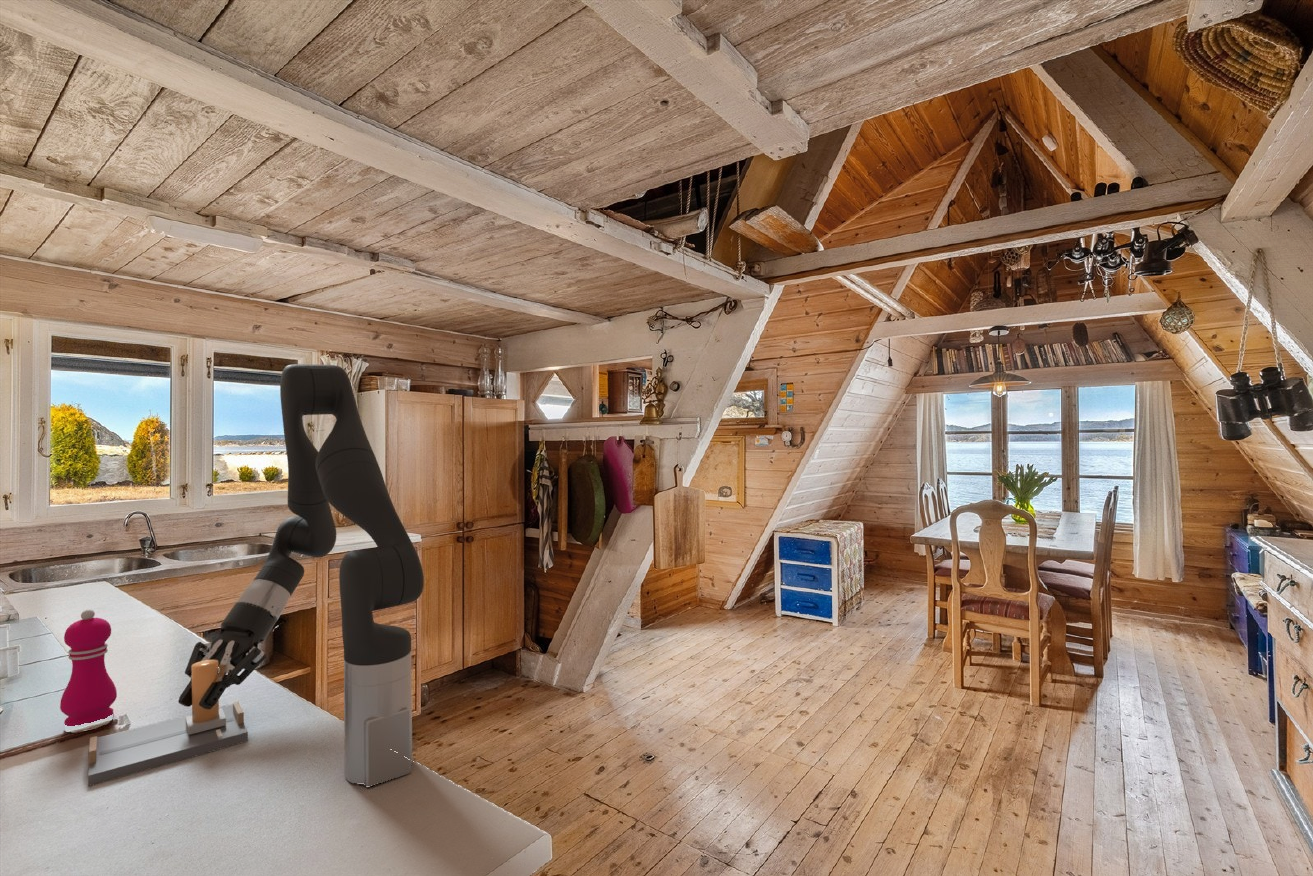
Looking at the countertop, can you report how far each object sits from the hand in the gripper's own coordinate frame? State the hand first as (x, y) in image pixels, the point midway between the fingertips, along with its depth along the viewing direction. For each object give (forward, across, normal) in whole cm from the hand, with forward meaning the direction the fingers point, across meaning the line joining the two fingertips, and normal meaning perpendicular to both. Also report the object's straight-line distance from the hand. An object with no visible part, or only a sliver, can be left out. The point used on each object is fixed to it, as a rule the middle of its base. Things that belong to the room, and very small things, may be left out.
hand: (194, 705), depth 101 cm
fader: (+1, 0, +4) cm, 5 cm away
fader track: (+5, -3, +3) cm, 7 cm away
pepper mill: (+4, -23, +4) cm, 24 cm away
